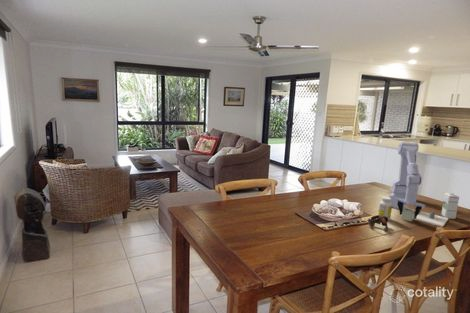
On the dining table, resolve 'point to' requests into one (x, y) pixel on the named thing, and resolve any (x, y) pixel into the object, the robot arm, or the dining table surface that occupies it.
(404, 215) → the collar
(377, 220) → the brown animal figurine
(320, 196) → the dining table surface
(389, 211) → the supplement bottle
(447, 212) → the syrup box
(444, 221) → the board
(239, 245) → the dining table surface
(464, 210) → the dining table surface
